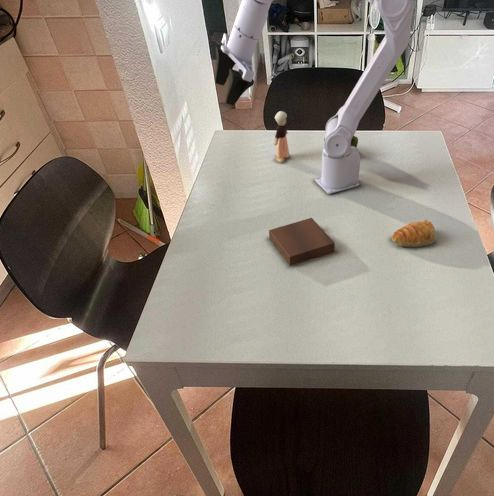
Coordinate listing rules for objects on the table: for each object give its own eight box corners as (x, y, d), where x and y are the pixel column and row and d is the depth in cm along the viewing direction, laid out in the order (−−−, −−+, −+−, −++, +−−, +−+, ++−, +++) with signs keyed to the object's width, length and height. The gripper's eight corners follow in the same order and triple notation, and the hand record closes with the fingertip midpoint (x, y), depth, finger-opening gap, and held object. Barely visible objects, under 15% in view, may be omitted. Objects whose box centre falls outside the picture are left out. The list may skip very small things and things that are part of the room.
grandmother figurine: (286, 164, 121) (285, 117, 112) (273, 163, 122) (271, 116, 112) (291, 152, 126) (291, 106, 116) (279, 151, 127) (277, 105, 117)
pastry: (399, 253, 94) (402, 238, 92) (385, 236, 99) (388, 221, 96) (437, 244, 96) (441, 229, 93) (421, 228, 100) (425, 213, 98)
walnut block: (311, 226, 102) (311, 217, 100) (334, 252, 95) (334, 242, 93) (269, 239, 99) (268, 230, 97) (289, 266, 92) (289, 256, 90)
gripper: (218, 5, 90) (199, 70, 100) (242, 44, 84) (218, 108, 94) (247, 18, 94) (225, 78, 104) (271, 55, 88) (246, 115, 98)
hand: (224, 93), depth 99 cm, fingers open, 7 cm apart
